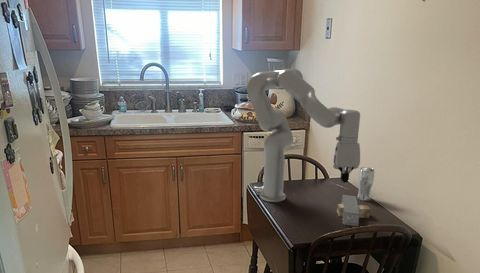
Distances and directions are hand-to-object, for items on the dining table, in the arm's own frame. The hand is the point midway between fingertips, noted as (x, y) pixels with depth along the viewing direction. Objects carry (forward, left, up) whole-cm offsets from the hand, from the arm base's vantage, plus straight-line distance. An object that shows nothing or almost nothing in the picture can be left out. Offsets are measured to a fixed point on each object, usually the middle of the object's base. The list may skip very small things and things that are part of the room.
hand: (344, 181), depth 159 cm
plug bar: (+5, +1, -16) cm, 16 cm away
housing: (+4, 0, -16) cm, 16 cm away
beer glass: (+12, +22, -16) cm, 29 cm away
